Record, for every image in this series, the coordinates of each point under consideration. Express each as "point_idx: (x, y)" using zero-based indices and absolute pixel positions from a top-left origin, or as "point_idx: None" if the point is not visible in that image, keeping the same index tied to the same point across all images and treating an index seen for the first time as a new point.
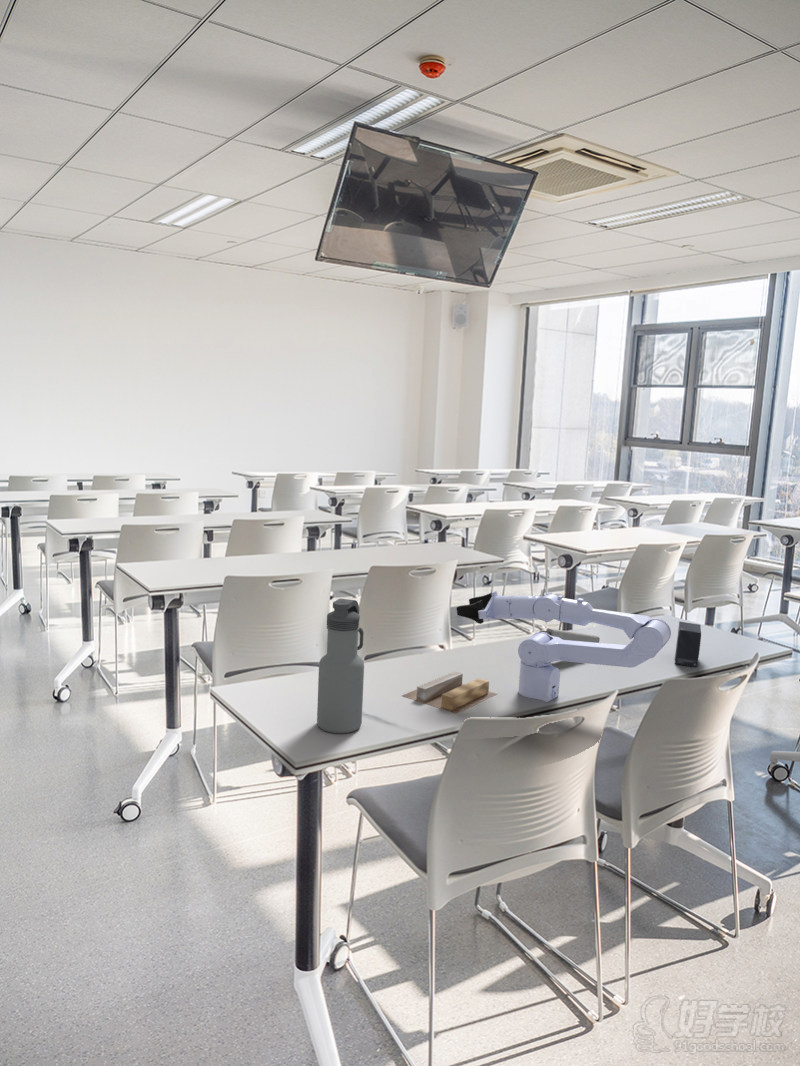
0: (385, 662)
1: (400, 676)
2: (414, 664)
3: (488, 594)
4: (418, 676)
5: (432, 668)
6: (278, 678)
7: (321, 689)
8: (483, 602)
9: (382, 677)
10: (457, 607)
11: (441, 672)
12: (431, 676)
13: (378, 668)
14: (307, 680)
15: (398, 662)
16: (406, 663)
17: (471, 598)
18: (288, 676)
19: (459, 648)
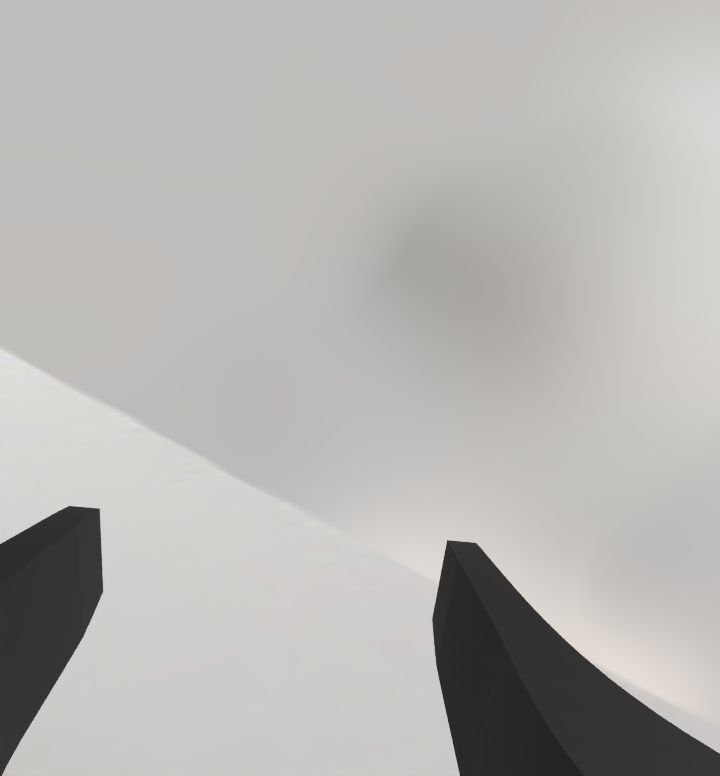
0: (303, 526)
1: (151, 614)
2: (346, 617)
3: (563, 743)
4: (183, 683)
5: (341, 705)
6: (11, 358)
7: None
8: (491, 747)
9: (110, 560)
10: (57, 512)
11: (305, 771)
12: (211, 743)
13: (220, 523)
14: (7, 403)
15: (331, 561)
16: (338, 588)
17: (467, 552)
18: (36, 369)
19: (710, 725)
